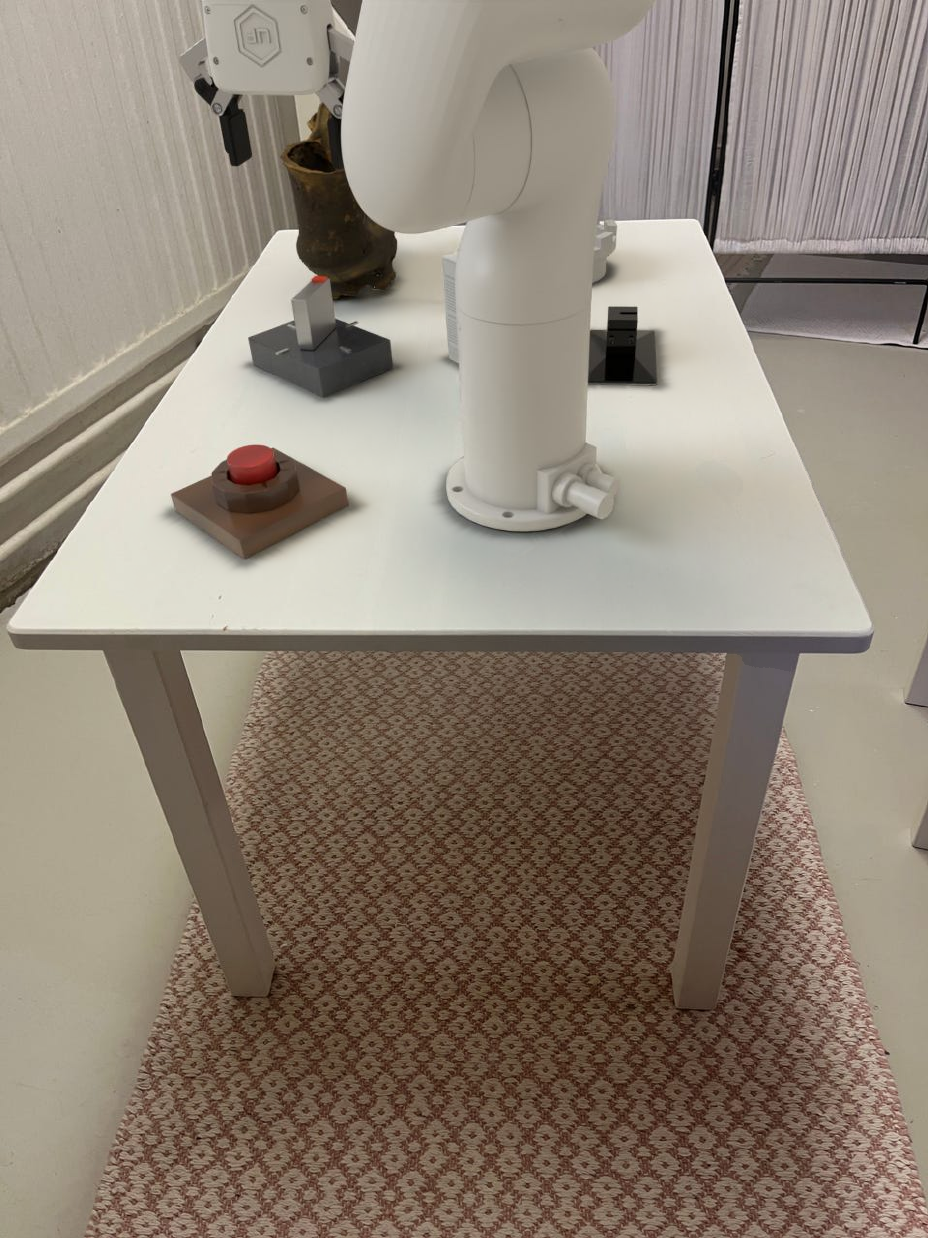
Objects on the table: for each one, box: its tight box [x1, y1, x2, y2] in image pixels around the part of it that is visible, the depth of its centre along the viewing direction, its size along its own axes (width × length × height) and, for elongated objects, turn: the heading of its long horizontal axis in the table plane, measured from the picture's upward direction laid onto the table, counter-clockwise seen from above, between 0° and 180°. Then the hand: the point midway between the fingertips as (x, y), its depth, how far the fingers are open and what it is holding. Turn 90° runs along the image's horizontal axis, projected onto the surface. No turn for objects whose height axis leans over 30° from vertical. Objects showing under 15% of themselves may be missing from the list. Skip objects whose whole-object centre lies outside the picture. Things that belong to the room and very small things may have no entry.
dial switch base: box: [247, 317, 394, 399], centre depth 94 cm, size 12×10×3 cm
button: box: [226, 444, 277, 485], centre depth 72 cm, size 4×4×2 cm
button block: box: [170, 447, 349, 560], centre depth 74 cm, size 10×10×4 cm
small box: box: [441, 251, 459, 365], centre depth 92 cm, size 8×6×10 cm
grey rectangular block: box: [290, 275, 336, 350], centre depth 92 cm, size 6×2×5 cm, turn 164°
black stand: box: [588, 305, 658, 386], centre depth 92 cm, size 12×7×5 cm, turn 172°
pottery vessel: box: [279, 101, 398, 300], centre depth 108 cm, size 25×11×20 cm, turn 176°
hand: (291, 163), depth 82 cm, fingers open, 9 cm apart
